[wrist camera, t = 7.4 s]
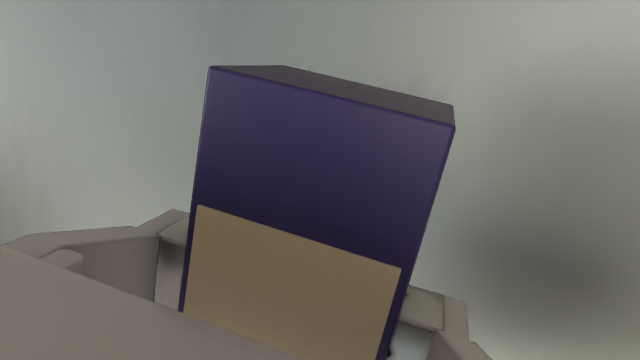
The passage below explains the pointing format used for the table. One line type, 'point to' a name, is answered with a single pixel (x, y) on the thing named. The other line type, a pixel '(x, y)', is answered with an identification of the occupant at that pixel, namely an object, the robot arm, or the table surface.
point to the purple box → (309, 208)
